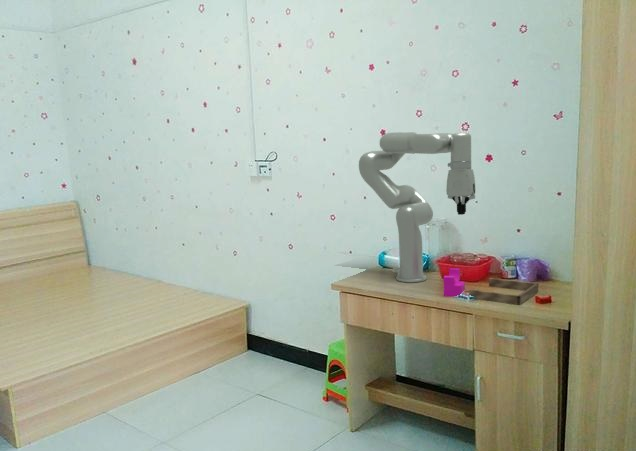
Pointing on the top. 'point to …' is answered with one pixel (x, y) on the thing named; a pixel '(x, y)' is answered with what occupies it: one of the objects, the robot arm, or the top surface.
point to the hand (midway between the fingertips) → (461, 214)
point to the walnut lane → (507, 298)
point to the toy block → (453, 283)
